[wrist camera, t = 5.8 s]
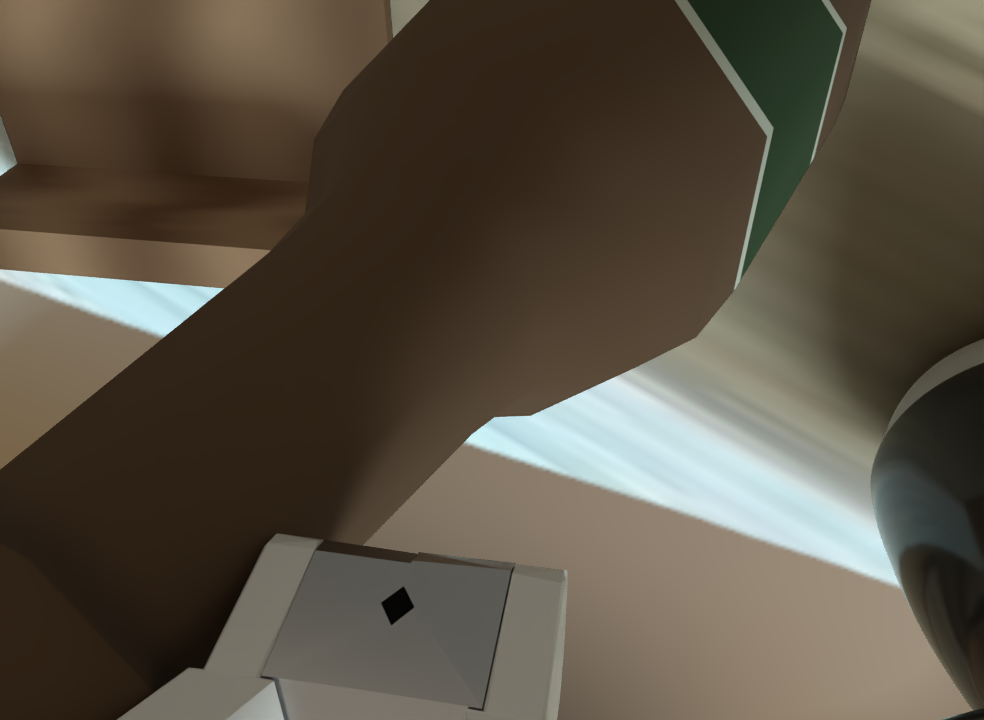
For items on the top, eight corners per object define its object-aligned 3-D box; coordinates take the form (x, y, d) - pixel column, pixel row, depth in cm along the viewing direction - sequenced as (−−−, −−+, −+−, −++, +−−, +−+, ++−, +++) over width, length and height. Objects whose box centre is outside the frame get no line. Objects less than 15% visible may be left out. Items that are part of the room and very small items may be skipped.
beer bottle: (634, 171, 29) (-45, 885, 12) (564, -93, 25) (-519, 370, 8) (903, 129, 24) (436, 1177, 7) (860, -196, 21) (-163, 339, 4)
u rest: (362, -320, 23) (289, -317, 19) (408, 220, 32) (365, 300, 28) (-323, -303, 26) (-511, -298, 22) (-105, 184, 35) (-210, 251, 31)
